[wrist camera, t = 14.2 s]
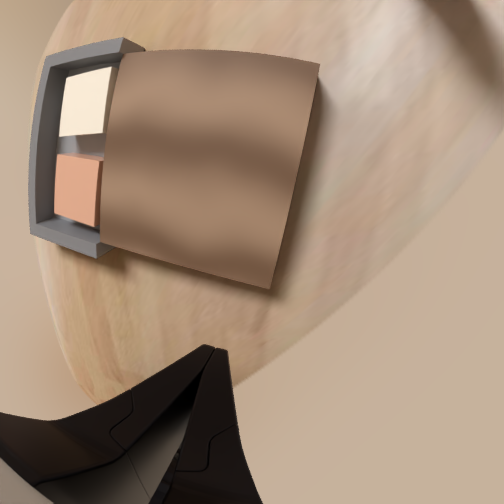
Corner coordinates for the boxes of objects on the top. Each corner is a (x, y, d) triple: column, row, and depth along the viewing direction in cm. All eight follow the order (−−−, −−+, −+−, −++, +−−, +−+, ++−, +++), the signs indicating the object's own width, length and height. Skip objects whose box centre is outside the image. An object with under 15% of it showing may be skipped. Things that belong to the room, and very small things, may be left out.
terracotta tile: (109, 220, 20) (94, 226, 19) (69, 207, 21) (54, 213, 19) (115, 159, 19) (99, 161, 17) (73, 152, 19) (57, 154, 17)
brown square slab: (273, 273, 20) (269, 289, 18) (118, 232, 21) (100, 241, 19) (317, 75, 15) (320, 64, 13) (141, 61, 16) (123, 53, 14)
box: (118, 246, 22) (96, 258, 19) (51, 224, 23) (30, 233, 20) (144, 48, 16) (123, 37, 13) (67, 61, 17) (46, 56, 14)
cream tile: (118, 133, 18) (102, 132, 16) (75, 136, 18) (59, 136, 17) (127, 71, 16) (111, 66, 14) (82, 80, 17) (66, 77, 15)
